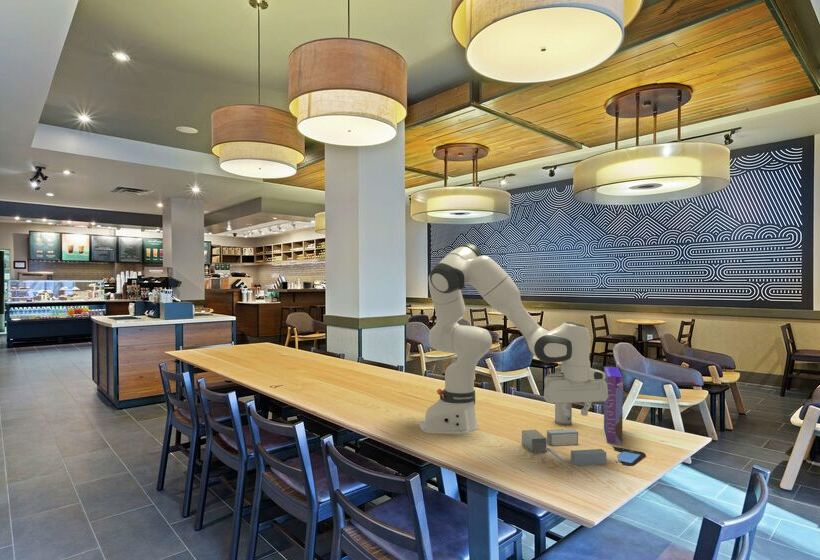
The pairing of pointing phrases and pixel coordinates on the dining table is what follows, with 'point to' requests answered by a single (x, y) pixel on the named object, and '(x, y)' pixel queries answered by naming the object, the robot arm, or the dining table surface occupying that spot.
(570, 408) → the travel mug
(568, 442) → the block
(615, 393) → the cereal box
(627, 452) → the game console
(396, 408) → the dining table surface
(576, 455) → the vise
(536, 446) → the steel block
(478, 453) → the dining table surface
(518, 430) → the dining table surface
